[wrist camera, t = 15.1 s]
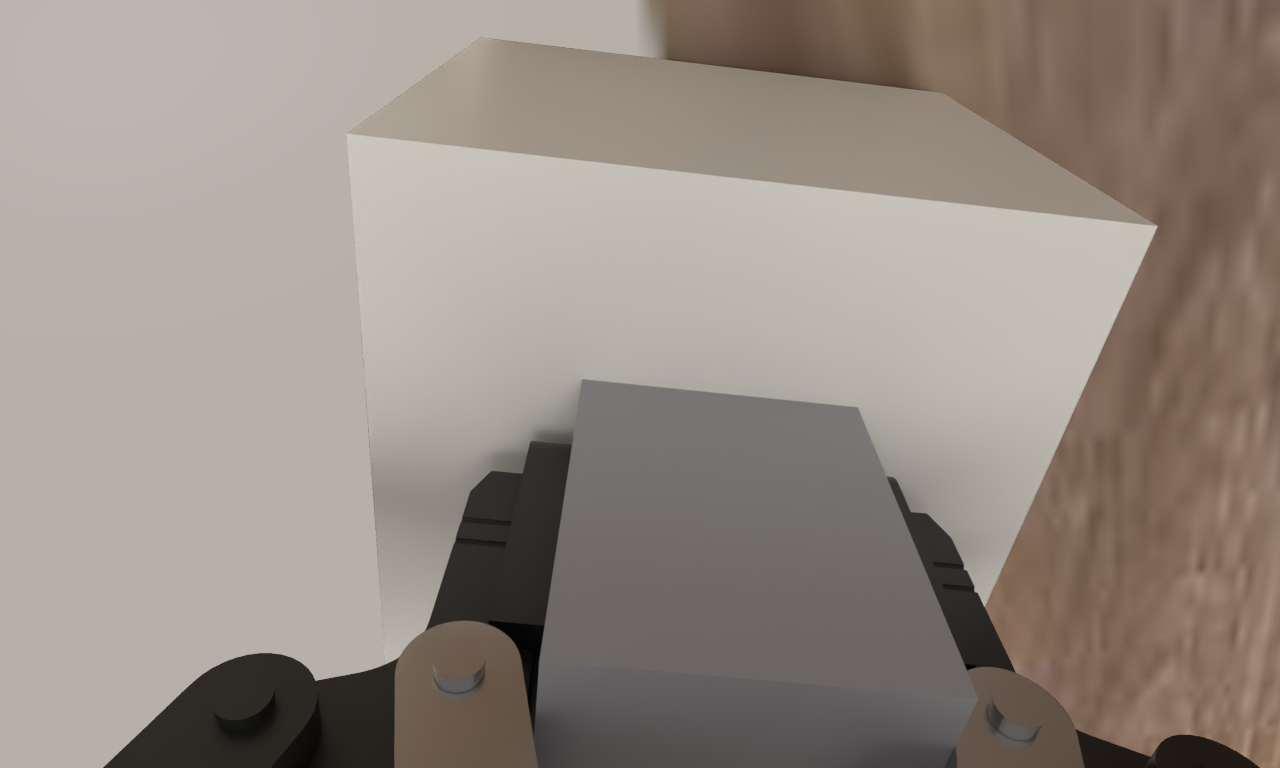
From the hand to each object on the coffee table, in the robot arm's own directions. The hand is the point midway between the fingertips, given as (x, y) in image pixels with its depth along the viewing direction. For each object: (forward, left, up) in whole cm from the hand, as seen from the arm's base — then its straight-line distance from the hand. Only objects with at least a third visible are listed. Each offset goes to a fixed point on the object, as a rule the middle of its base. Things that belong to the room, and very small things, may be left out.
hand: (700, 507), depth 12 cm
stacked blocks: (0, 0, -9) cm, 9 cm away
